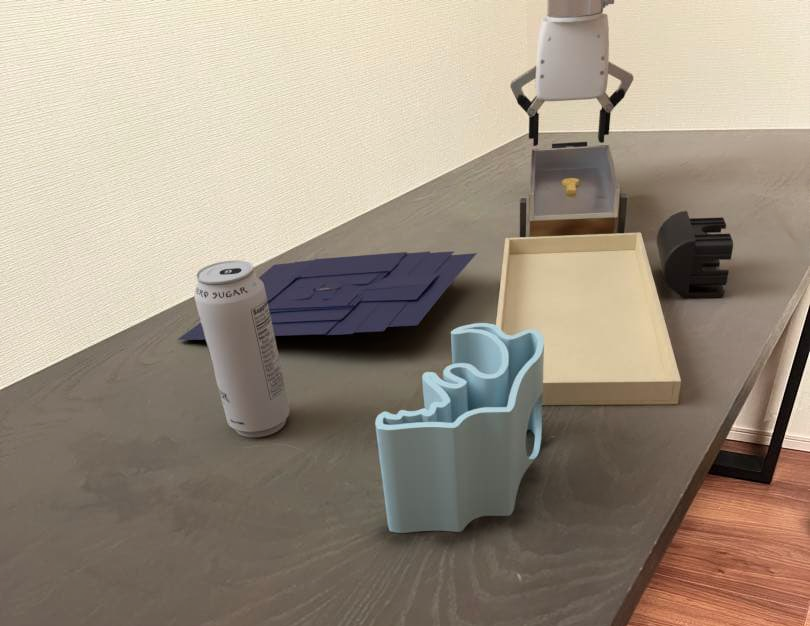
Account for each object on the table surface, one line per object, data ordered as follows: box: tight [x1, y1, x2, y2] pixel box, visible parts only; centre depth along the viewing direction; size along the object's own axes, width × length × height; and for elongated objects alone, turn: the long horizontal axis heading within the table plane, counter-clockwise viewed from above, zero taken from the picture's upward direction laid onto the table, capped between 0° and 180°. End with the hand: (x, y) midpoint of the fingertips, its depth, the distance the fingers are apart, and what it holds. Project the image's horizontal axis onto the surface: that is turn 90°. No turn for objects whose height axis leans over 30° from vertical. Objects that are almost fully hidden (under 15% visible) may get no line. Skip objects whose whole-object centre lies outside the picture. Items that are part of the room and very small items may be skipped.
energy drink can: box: [193, 259, 291, 438], centre depth 71 cm, size 6×6×15 cm
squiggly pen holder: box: [374, 322, 544, 534], centre depth 64 cm, size 18×10×9 cm, turn 162°
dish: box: [528, 141, 621, 222], centre depth 110 cm, size 11×26×3 cm, turn 172°
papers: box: [177, 250, 478, 341], centre depth 95 cm, size 24×30×4 cm
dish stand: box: [519, 192, 628, 237], centre depth 111 cm, size 14×19×6 cm
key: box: [562, 178, 580, 194], centre depth 109 cm, size 6×2×1 cm, turn 172°
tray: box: [495, 232, 682, 406], centre depth 88 cm, size 17×39×2 cm, turn 172°
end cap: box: [656, 210, 734, 299], centre depth 91 cm, size 10×7×7 cm
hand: (568, 142), depth 118 cm, fingers open, 9 cm apart
